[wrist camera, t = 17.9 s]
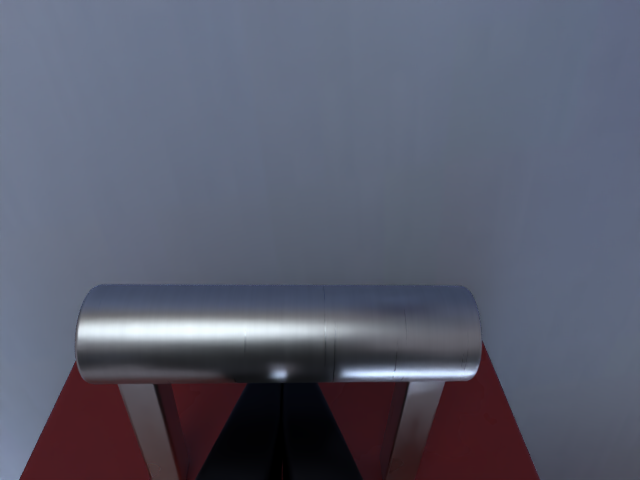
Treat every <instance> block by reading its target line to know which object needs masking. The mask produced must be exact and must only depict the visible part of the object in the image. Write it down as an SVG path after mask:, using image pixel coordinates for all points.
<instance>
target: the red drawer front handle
mask: <svg viewBox="0 0 640 480" xmlns="http://www.w3.org/2000/svg"><path fill="white" fill-rule="evenodd" d="M75 357H76V361H75V363H74V365H73V368H72V370H71V372H70V374H69V376H68V378H67V380H66V382H65V384H64V386H63V389H62V391H61V393H60V395H59V397H58V399H57V401H56V403H55V405H54V408H53V410H52V412H51V414H50V416H49V418H48V420H47V422H46V424H45V427H44V429H43V431H42V433H41V435H40V437H39V439H38V441H37V443H36V445H35V448H34V450H33V452H32V454H31V456H30V458H29V460H28V462H27V464H26V467H25V469H24V471H23V473H22V475H21V477H20V479H19V480H195V478H196V477H197V475H198V473H199V471H200V469H201V467H202V466H203V464H204V462H205V460H206V458H207V456H208V454H209V453H210V451H211V449H212V447H213V445H214V443H215V442H216V440H217V438H218V436H219V434H220V432H221V430H222V429H223V427H224V425H225V423H226V421H227V419H228V418H229V416H230V414H231V412H232V410H233V408H234V407H235V405H236V403H237V401H238V399H239V397H240V395H241V394H242V392H243V390H244V388H245V386H246V384H247V383H313V382H318V384H319V386H320V389H321V391H322V393H323V395H324V397H325V399H326V401H327V403H328V406H329V408H330V410H331V412H332V414H333V416H334V418H335V420H336V423H337V425H338V427H339V429H340V431H341V433H342V435H343V437H344V440H345V442H346V444H347V446H348V448H349V450H350V452H351V454H352V457H353V459H354V461H355V463H356V465H357V467H358V469H359V472H360V474H361V476H362V478H363V480H540V478H539V476H538V473H537V471H536V469H535V466H534V464H533V461H532V459H531V457H530V454H529V452H528V449H527V447H526V444H525V442H524V440H523V437H522V435H521V432H520V430H519V428H518V425H517V423H516V420H515V418H514V416H513V413H512V411H511V408H510V406H509V404H508V401H507V399H506V396H505V394H504V391H503V389H502V387H501V384H500V382H499V379H498V377H497V375H496V372H495V370H494V367H493V365H492V363H491V360H490V358H489V355H488V353H487V351H486V348H485V346H484V343H483V341H482V329H481V321H480V315H479V311H478V308H477V304H476V302H475V299H474V297H473V295H472V293H471V292H470V291H469V290H468V289H467V288H466V287H463V286H440V285H129V284H101V285H98V286H95V287H94V288H92V289H91V290H90V291H89V293H88V294H87V296H86V297H85V299H84V301H83V303H82V306H81V309H80V312H79V315H78V320H77V325H76V333H75ZM282 480H283V459H282Z"/></svg>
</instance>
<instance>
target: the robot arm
mask: <svg viewBox="0 0 640 480" xmlns="http://www.w3.org/2000/svg"><path fill="white" fill-rule="evenodd" d="M282 459H283V480H363V478H362V476H361V474H360V472H359V469H358V467H357V465H356V463H355V461H354V459H353V457H352V454H351V452H350V450H349V448H348V446H347V444H346V442H345V440H344V437H343V435H342V433H341V431H340V429H339V427H338V425H337V423H336V420H335V418H334V416H333V414H332V412H331V410H330V408H329V406H328V403H327V401H326V399H325V397H324V395H323V393H322V391H321V389H320V386H319V384H318V382H313V383H247V384H246V386H245V388H244V390H243V392H242V394H241V395H240V397H239V399H238V401H237V403H236V405H235V407H234V408H233V410H232V412H231V414H230V416H229V418H228V419H227V421H226V423H225V425H224V427H223V429H222V430H221V432H220V434H219V436H218V438H217V440H216V442H215V443H214V445H213V447H212V449H211V451H210V453H209V454H208V456H207V458H206V460H205V462H204V464H203V466H202V467H201V469H200V471H199V473H198V475H197V477H196V478H195V480H282Z"/></svg>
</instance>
